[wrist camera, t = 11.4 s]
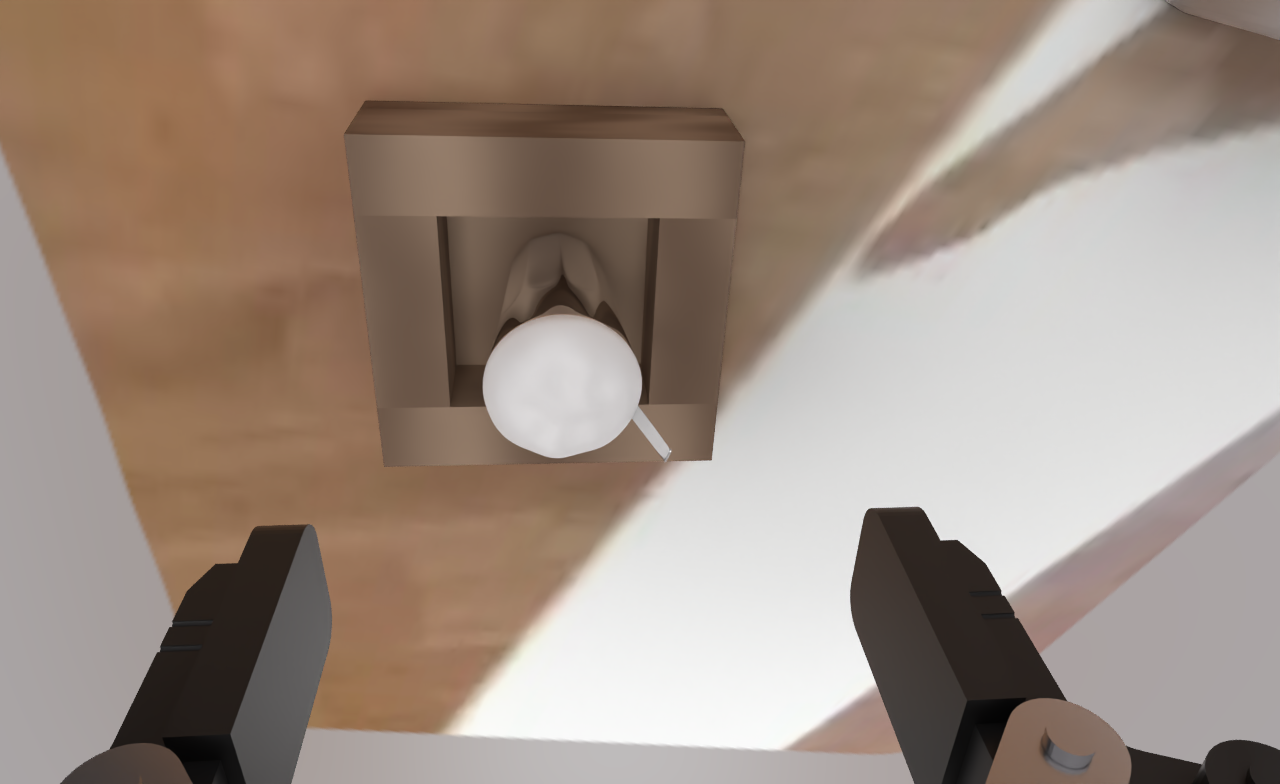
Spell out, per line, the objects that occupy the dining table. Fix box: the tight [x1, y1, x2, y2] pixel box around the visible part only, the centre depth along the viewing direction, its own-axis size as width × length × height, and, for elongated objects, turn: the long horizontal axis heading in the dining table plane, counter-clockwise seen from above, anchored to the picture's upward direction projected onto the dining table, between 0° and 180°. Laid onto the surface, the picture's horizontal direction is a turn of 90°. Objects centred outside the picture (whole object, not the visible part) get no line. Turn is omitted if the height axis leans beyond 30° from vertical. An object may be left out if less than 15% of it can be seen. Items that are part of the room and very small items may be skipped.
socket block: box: [344, 101, 745, 467], centre depth 32 cm, size 12×12×4 cm
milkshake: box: [483, 232, 672, 462], centre depth 29 cm, size 5×5×10 cm
